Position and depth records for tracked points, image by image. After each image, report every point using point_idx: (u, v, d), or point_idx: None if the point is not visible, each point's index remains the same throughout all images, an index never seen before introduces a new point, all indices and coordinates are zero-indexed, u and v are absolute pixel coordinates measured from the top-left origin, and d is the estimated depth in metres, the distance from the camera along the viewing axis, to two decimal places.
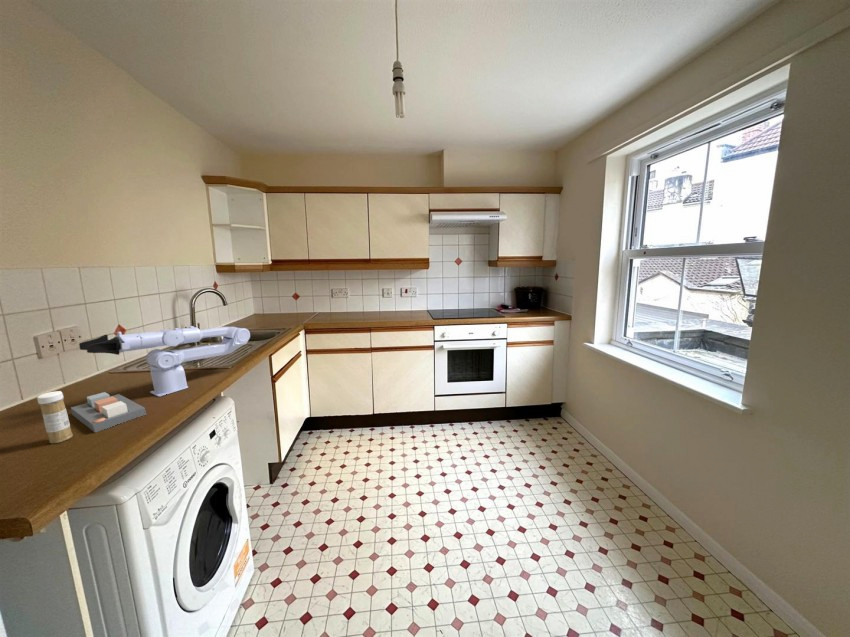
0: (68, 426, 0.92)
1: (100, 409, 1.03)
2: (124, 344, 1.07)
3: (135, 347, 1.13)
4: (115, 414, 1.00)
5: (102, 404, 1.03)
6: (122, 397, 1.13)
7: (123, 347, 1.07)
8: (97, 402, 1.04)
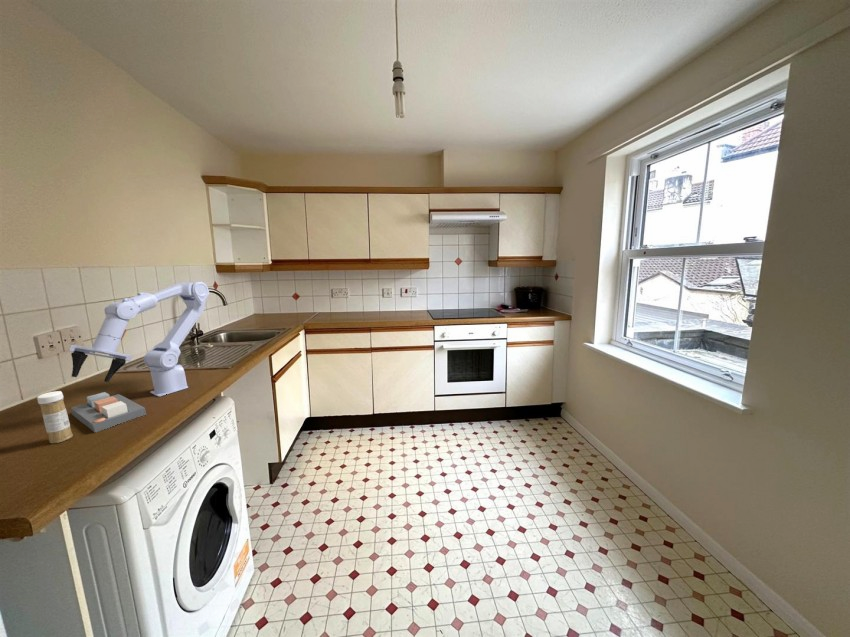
0: (68, 426, 0.92)
1: (100, 409, 1.03)
2: (129, 359, 1.08)
3: None
4: (115, 414, 1.00)
5: (102, 404, 1.03)
6: (122, 397, 1.13)
7: (129, 360, 1.09)
8: (97, 402, 1.04)
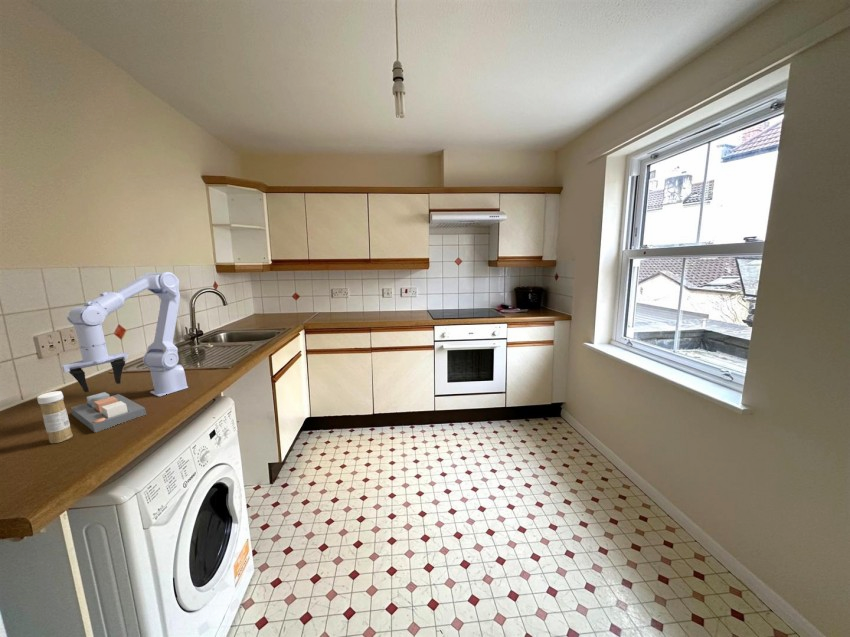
0: (68, 426, 0.92)
1: (100, 409, 1.03)
2: None
3: None
4: (115, 414, 1.00)
5: (102, 404, 1.03)
6: (122, 397, 1.13)
7: None
8: (97, 402, 1.04)
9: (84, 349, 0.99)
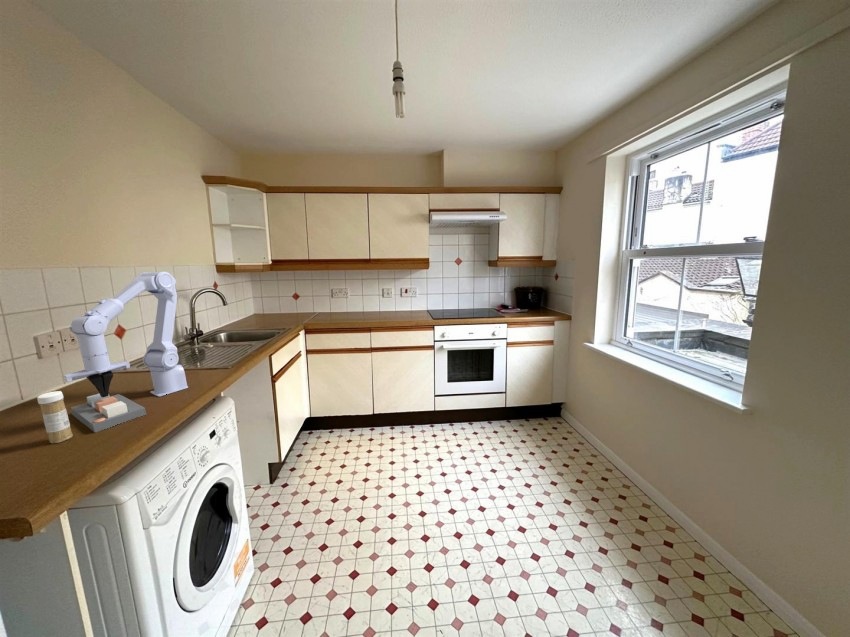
0: (68, 426, 0.92)
1: (100, 409, 1.03)
2: None
3: None
4: (115, 414, 1.00)
5: (102, 404, 1.03)
6: (122, 397, 1.13)
7: None
8: (97, 402, 1.04)
9: (86, 359, 1.00)
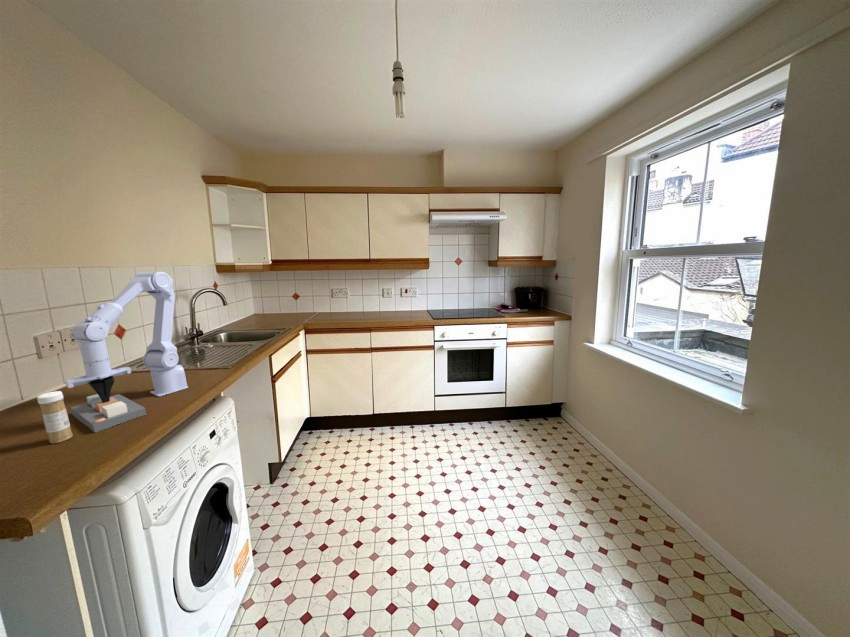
0: (68, 426, 0.92)
1: (100, 410, 1.03)
2: None
3: None
4: (115, 414, 1.00)
5: (102, 405, 1.03)
6: (122, 397, 1.13)
7: None
8: (97, 403, 1.04)
9: (88, 364, 1.00)
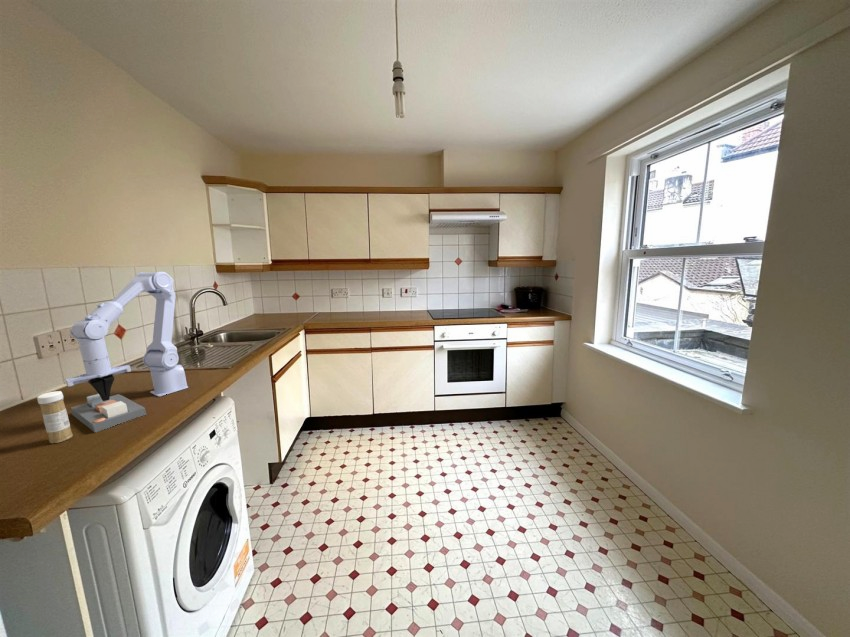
0: (68, 426, 0.92)
1: None
2: None
3: None
4: (115, 414, 1.00)
5: None
6: (122, 397, 1.13)
7: None
8: (98, 405, 1.04)
9: (87, 363, 1.00)
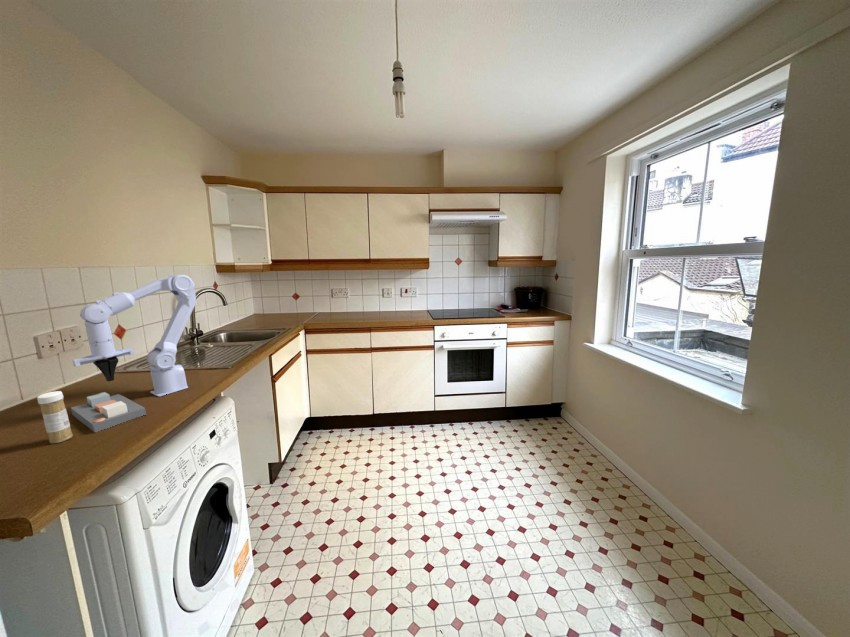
0: (68, 426, 0.92)
1: None
2: None
3: None
4: (115, 414, 1.00)
5: None
6: (122, 397, 1.13)
7: None
8: (98, 405, 1.04)
9: (93, 344, 1.06)
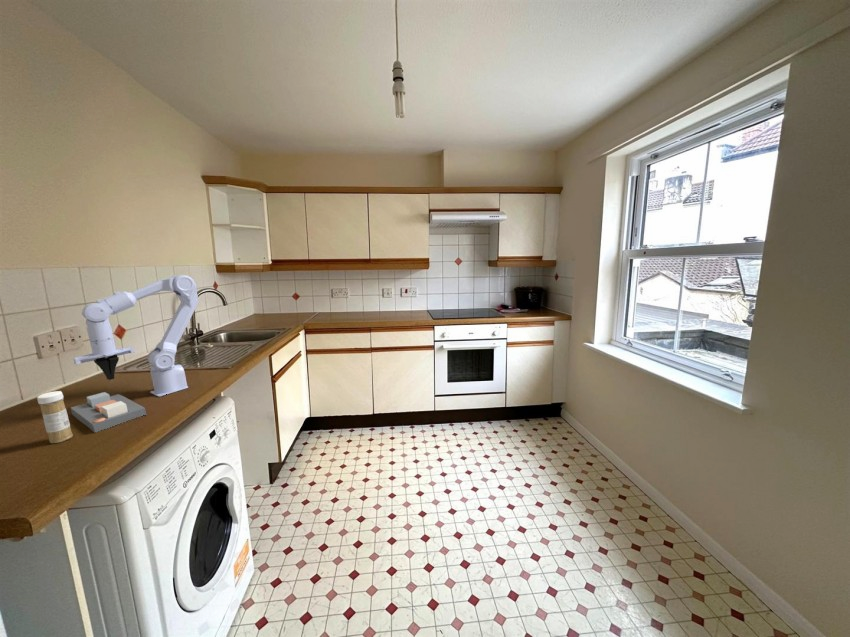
0: (68, 426, 0.92)
1: None
2: None
3: None
4: (115, 414, 1.00)
5: None
6: (122, 397, 1.13)
7: None
8: (98, 405, 1.04)
9: (94, 343, 1.07)
